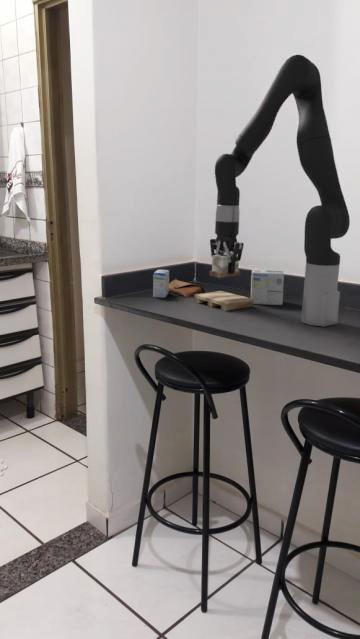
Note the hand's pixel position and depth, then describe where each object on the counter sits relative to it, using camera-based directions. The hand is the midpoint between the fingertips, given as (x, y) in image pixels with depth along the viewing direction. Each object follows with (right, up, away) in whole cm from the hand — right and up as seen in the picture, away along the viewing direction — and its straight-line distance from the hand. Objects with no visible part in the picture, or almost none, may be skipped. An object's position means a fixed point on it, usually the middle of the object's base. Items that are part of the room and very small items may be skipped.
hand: (224, 272), depth 168 cm
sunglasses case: (-14, -6, +20) cm, 26 cm away
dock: (0, -10, +2) cm, 11 cm away
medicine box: (-21, -7, +15) cm, 27 cm away
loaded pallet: (0, -1, 0) cm, 1 cm away
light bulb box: (+14, -10, +6) cm, 19 cm away
